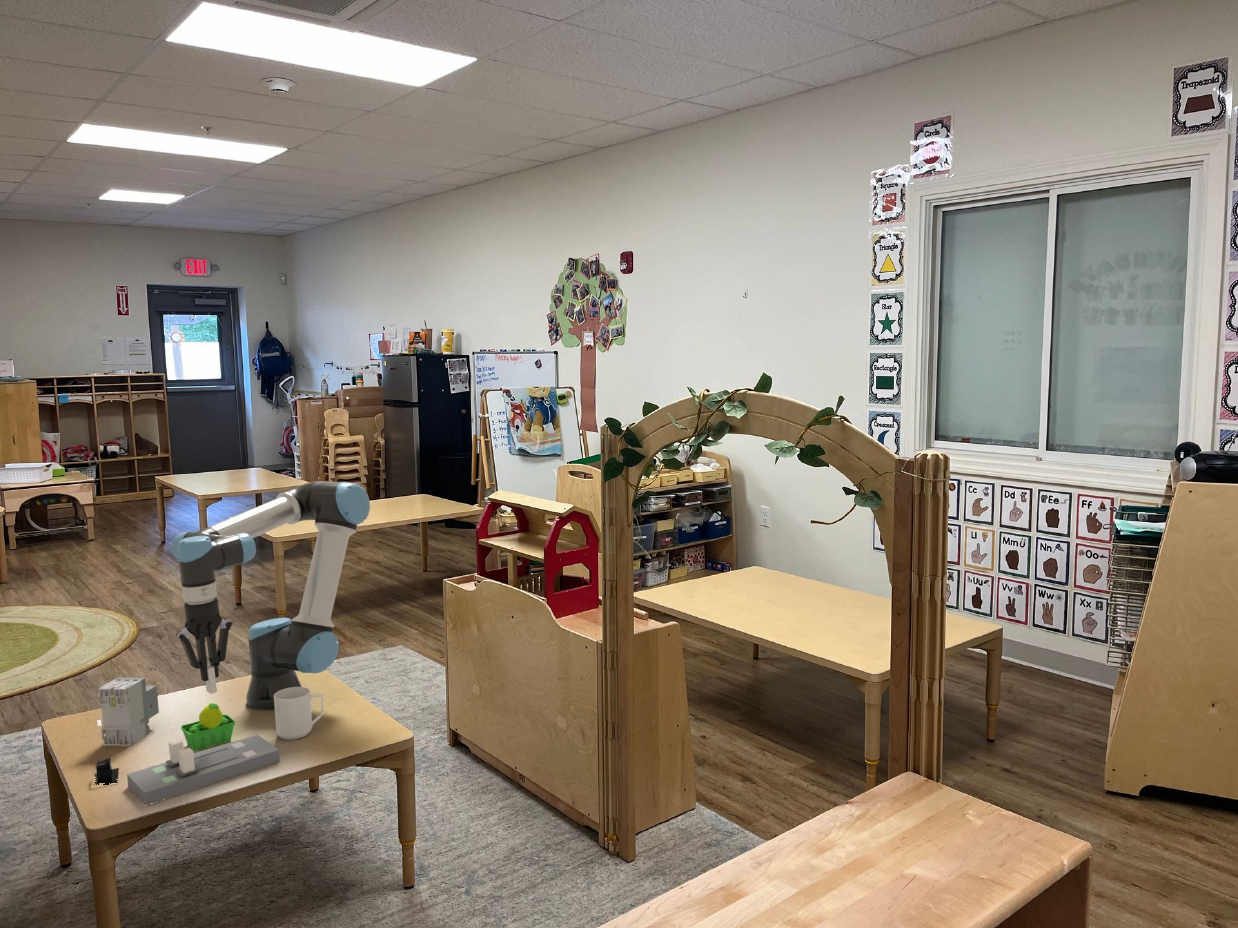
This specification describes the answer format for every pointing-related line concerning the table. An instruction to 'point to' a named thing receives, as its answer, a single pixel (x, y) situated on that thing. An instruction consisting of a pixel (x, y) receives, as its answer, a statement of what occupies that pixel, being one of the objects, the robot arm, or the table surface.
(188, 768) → the block
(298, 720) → the mug
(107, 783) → the black stepped block
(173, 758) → the breaker handle
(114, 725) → the circuit breaker
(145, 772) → the gray slotted slider panel
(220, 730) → the fruit basket
